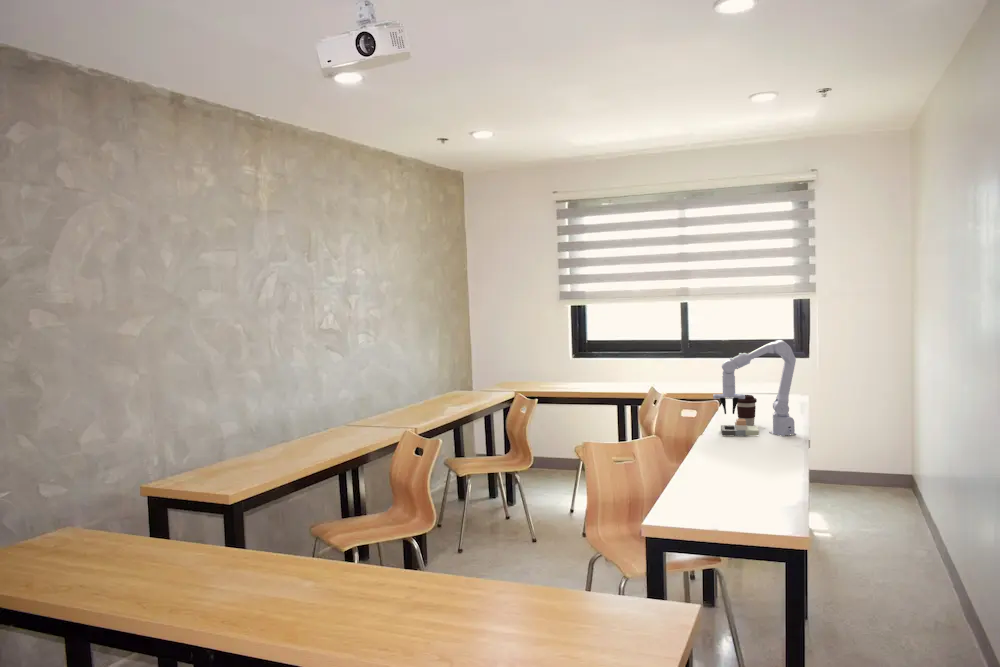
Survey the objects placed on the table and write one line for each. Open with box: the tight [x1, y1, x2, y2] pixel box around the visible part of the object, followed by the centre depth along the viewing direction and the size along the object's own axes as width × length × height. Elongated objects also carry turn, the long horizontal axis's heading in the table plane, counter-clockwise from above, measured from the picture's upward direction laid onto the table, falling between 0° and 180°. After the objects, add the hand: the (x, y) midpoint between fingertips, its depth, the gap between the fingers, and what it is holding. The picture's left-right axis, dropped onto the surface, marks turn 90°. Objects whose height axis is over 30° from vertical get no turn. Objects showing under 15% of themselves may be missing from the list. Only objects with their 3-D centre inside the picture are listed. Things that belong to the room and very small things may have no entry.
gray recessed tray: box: [720, 424, 747, 437], centre depth 353 cm, size 10×13×2 cm
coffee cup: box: [736, 394, 758, 426], centre depth 370 cm, size 10×10×15 cm
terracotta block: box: [735, 418, 746, 425], centre depth 352 cm, size 4×5×4 cm
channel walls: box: [734, 421, 747, 430], centre depth 352 cm, size 5×9×2 cm, turn 166°
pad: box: [745, 425, 760, 435], centre depth 351 cm, size 6×11×2 cm, turn 166°
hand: (729, 413), depth 353 cm, fingers open, 3 cm apart
